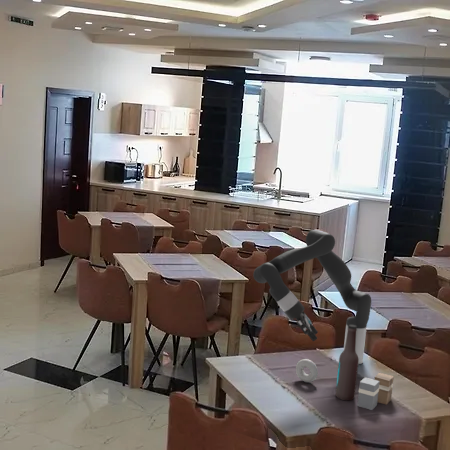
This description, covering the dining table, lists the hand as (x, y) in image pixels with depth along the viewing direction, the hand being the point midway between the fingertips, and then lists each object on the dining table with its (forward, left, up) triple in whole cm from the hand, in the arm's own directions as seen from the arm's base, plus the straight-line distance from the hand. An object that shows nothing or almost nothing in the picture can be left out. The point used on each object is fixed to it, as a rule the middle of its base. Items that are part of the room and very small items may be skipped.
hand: (315, 336), depth 273 cm
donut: (-9, -6, -24) cm, 26 cm away
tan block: (-12, +26, -24) cm, 37 cm away
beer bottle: (-5, +13, -24) cm, 28 cm away
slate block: (-3, +23, -24) cm, 33 cm away
